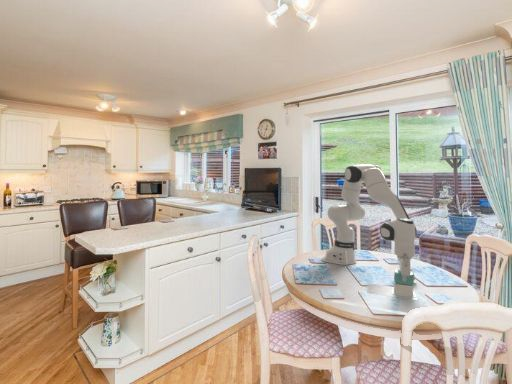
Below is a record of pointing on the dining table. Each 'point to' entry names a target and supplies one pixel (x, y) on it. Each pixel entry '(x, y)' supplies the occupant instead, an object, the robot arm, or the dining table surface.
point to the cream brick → (403, 289)
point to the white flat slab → (387, 291)
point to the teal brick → (399, 278)
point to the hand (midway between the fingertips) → (403, 278)
